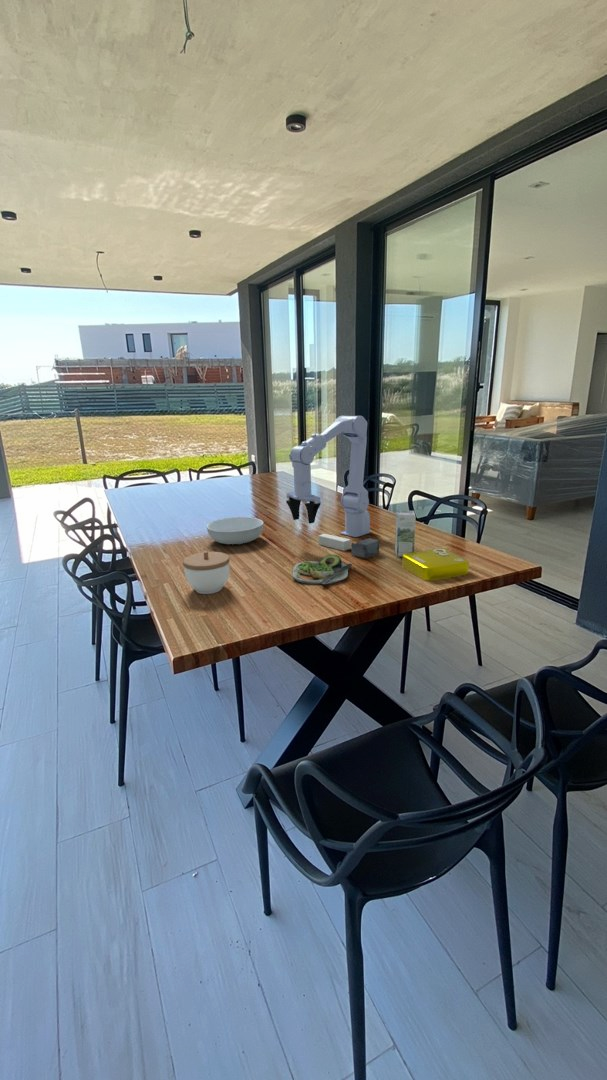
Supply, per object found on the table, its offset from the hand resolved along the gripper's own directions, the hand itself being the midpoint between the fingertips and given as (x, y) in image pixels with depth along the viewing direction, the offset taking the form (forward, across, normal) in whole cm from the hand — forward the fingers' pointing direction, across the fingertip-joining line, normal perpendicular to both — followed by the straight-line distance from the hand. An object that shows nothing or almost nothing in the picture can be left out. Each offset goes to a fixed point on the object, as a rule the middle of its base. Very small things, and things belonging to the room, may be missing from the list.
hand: (303, 521), depth 169 cm
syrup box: (+10, +30, +16) cm, 36 cm away
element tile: (+10, +45, +10) cm, 48 cm away
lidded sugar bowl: (+10, +7, -44) cm, 46 cm away
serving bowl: (+10, -26, -10) cm, 30 cm away
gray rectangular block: (+10, +6, +8) cm, 15 cm away
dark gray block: (+10, +20, +8) cm, 24 cm away
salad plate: (+10, +22, -15) cm, 28 cm away
